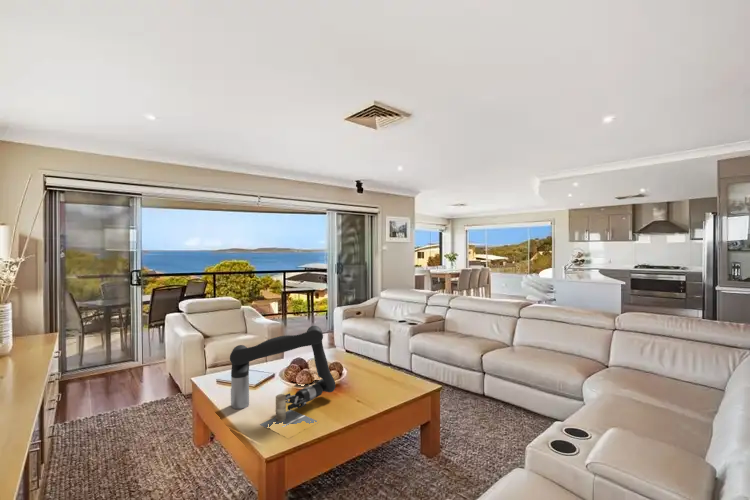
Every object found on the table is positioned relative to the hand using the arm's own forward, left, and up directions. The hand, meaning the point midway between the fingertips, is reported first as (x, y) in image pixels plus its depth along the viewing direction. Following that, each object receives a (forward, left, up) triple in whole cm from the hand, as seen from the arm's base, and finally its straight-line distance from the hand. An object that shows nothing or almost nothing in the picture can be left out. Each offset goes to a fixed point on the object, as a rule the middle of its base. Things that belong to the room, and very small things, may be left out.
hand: (282, 405), depth 193 cm
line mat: (+7, -1, -7) cm, 10 cm away
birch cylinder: (0, -1, -7) cm, 7 cm away
